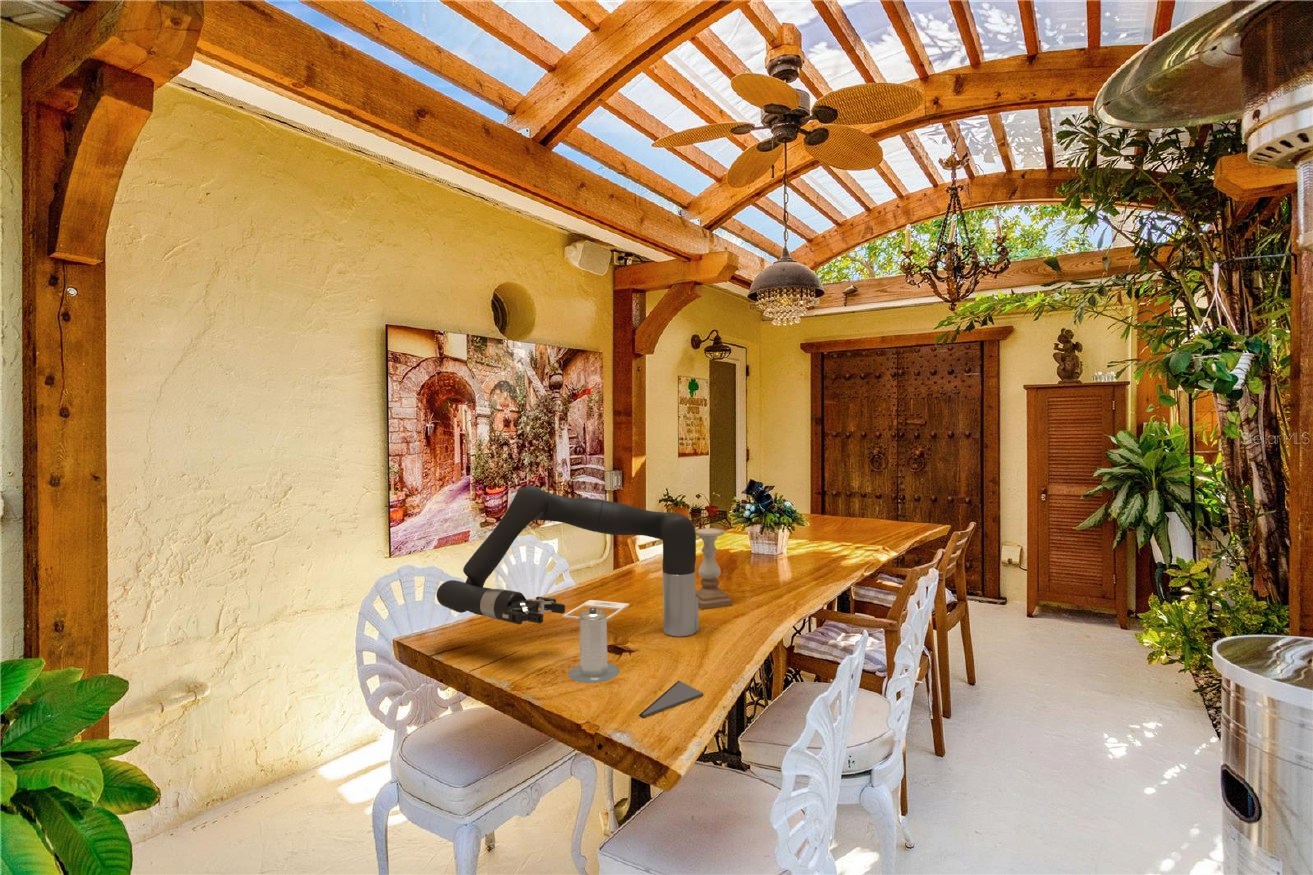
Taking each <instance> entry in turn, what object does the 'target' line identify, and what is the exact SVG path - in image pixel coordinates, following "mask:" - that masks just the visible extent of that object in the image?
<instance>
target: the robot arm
mask: <svg viewBox="0 0 1313 875" xmlns="http://www.w3.org/2000/svg"><path fill="white" fill-rule="evenodd" d="M533 521H549V522H556V523H563V524H567V525H570V526H573V527H576V528H580V529H582V530H586V531H591V532H593V533H600V534H605V535H610V536H645V537H648V538H649V537H650V538H654V539H656V540H657V539H658V540H661V541H662V599H663V600H662V604H663V605H662V606H663V607H662V608H663V632H664V634H666V635H668V636H671V637H687V636H692V635H694V634H696V633H697V632H698V631H700V624H699V623H700V622H699V620H700V616H699V609H700V608H699V607H698V597H696V593H695V591H696V560H697V535H696V532H695V530H696V528H695V524H694V523H693V522H692V521H691V519H690V518H689V517H688V516H686V515H685V514H682V513H679V512H663V511H662V512H661V511H652V510H646V509H643V508H639V507H637V506H632V505H628V504H623V503H620V502H615V501H611V500H610V501H609V500H607V499H606V500H605V499H601V498H600V499H598V498H590V497H589V498H588V497H584V498H583V497H569V496H562V495H558V494H555V493H550V492H548V491H544V490H542V489H541V488H540V487H538V486H534V485H528V486H523V487H522V488H520V489H519V490H518V491H516V493H515V495H514V498H513V499H512V501H511V503H510V505H509V506H508V508H507V510H506V512H505V513H504V515H503V516H502V518H501V519H500V521H499V522H498V524H497V525H496V526H495V528H494V529H493V530H492V532H491V533H489V535H488V537H487V538H486V539H485V540H484V541H483V542H482V544H480V546H479V547H478V548H477V549H476V551H475V552H474V553H473V554H472V555H471V557H470V558H469V559H468V561H467V562H466V563H465V564H464V567H463V568H462V569H463V574H464V575H465V577H466V581H465V582H464V581H460V580H455V579H452V580H451V579H450V580H446V581H445V582H443V583H442V584H440V585H439V587H438V588H437V590H436V600H437V601H438V604H440V605H441V606H443V607H444V608H447V609H448V610H449V609H450V610H452V611H454V612H456V613H460V614H462V613H465V612H469V613H471V614H474V615H479V616H482V617H483V616H484V617H487V618H489V619H494V620H498V621H503V622H508V623H512V624H516V625H522V624H523V622H524V623H534V624H535V623H536V624H543V622H544V614H545V613H557V614H560V615H564V614H566V613H565V612H566V605H565V604H564V603H558V602H557V599H556V598H552V597H551V598H549V597H544V596H535V599H532V598H527V599H526V597H525V595H524V594H523V592H522V593H521V592H520V591H515V590H510V589H504V588H503V589H502V588H491V587H484V586H485V583H486V581H487V579H488V578H489V577H490V576H491V574H492V573H493V572H494V571H495V569H496V568H497V567H498V565H499V564H500V563H501V562H502V560H503V559H504V557H505V556H506V554H507V553H508V551H509V549H510V547H511V545H512V544H513V543H514V541H515V540H516V539H517V538H518V537H519V535H520V534H521V532H523V530H524V529H525V528H526V527H527V526H528V525H529V524H530V523H532V522H533ZM539 609H540V610H539Z"/></svg>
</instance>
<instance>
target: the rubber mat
mask: <svg viewBox="0 0 1313 875" xmlns="http://www.w3.org/2000/svg"><path fill="white" fill-rule="evenodd" d="M703 696H704V692H702V691H700V690H698V689H697V688H694V687H692V686H690V685H689V684H686V683H684V681H683V682H682V681H681V680H678V681H676V682H675V683H674V684H673V685H671V686H670V687H669V689H667V690H666V691H665V692H664V693H662V694H661V695H660V696H659V697H658V698H656V700H654V701H653V702H652V703H651V704H650V705H649V706H647V707H646V708H645V709H644V710H643V711H642V712H640V713H639V714H638V716H639V717H641V718H642V719H645V718H647V717H650V716H653V715H655V714H659V713H661V712H663V711H664V712H665V711H667V710H668V709H671V708H674V707H676V706H679V705H682V704H685V703H687V702H689V701H693V700H695V699H699V698H701V697H703Z"/></svg>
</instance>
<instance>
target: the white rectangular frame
mask: <svg viewBox="0 0 1313 875" xmlns="http://www.w3.org/2000/svg"><path fill="white" fill-rule="evenodd" d="M630 605H631V604H630V603H625V602H618V601H617V602H615V601H606V600H595V599H594V600H593V599H588V600H587V601H585V602H584V603H582V604H581V605H579V606H577V607H575V608H574V609H572V610H570V611H569V612H567V613H564V614H562V618H566V619H574V620H575V619H576V620H579V616H575V615H571V614H573V613H575V612H576V611H578V610H580V609H581V608H583V607H590V608H598V609H599V608H600V609H611V610H616V611H614V612H613V613H612V614H610V615H609V616H607V621H609V620H611V619H612V618H613V617H615V616H616V615H618V614H619V613H621V612H622V611H623V610H625V609H626V608H627V607H629V606H630Z"/></svg>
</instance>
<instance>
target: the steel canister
mask: <svg viewBox="0 0 1313 875" xmlns="http://www.w3.org/2000/svg"><path fill="white" fill-rule="evenodd" d="M606 614H607V613H606V611H605V610H603V609H601V608H600V609H599V608H597V607H590V608H589V609H584V610H582V611H581V612H580V613H579V616H578V617H579V619H578V620H579V660H580V662H579V663H580V664H579V665H580V672H581V674H582V676H586V677H590V678H593V677H600V676H603V675H604V674H606V673H607V672H608V663H609V662H608V631H607V630H608V627H607V625H608V624H607V622H608V620H607V617H608V616H607V615H606Z"/></svg>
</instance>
